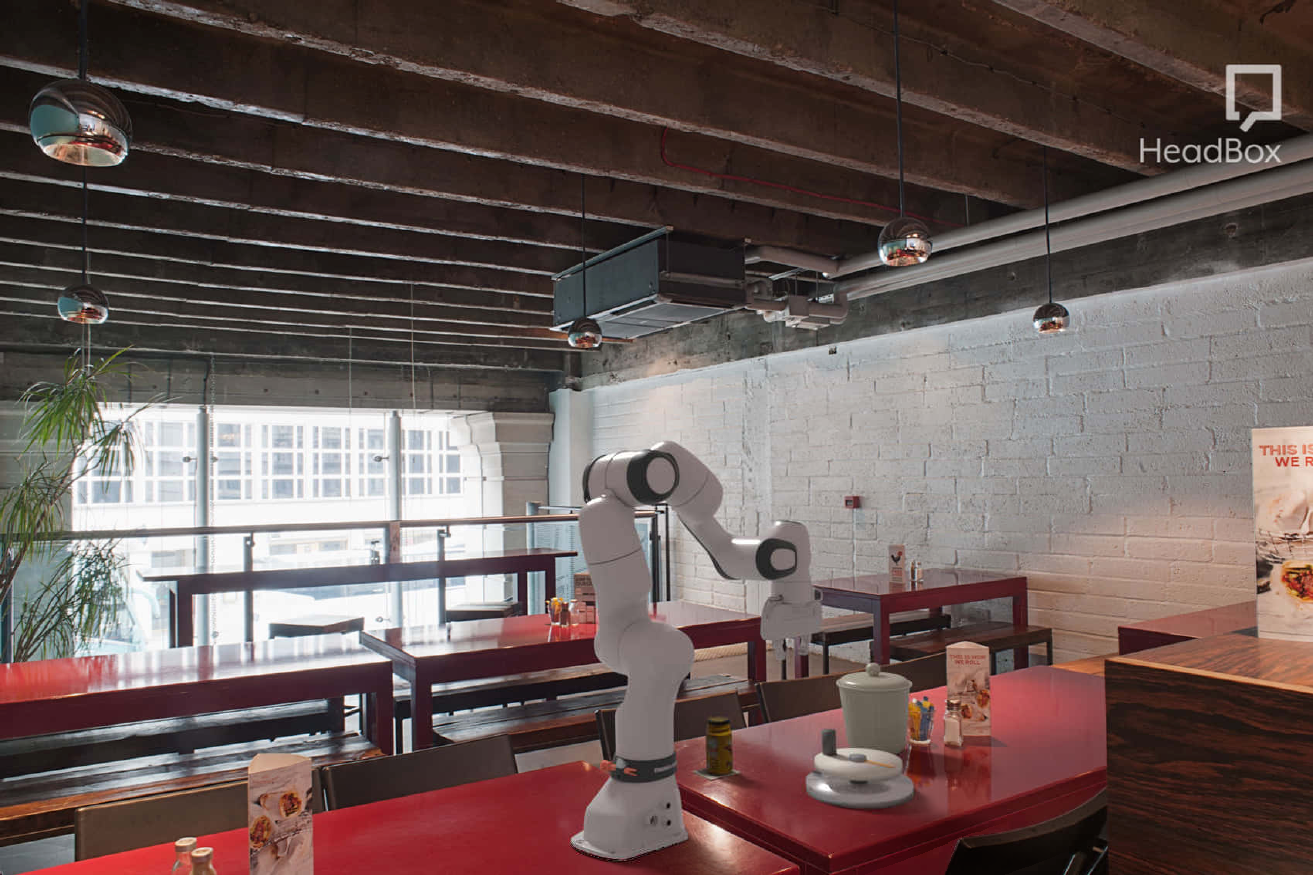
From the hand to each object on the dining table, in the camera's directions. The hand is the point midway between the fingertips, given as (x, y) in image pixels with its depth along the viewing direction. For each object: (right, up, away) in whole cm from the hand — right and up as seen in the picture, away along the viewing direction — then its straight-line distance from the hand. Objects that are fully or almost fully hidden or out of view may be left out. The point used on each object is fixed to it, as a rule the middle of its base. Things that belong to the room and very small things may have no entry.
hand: (792, 657), depth 194 cm
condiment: (-16, -28, +6) cm, 33 cm away
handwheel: (+12, -21, -9) cm, 26 cm away
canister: (+23, -28, +19) cm, 41 cm away
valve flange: (+13, -26, -9) cm, 30 cm away
